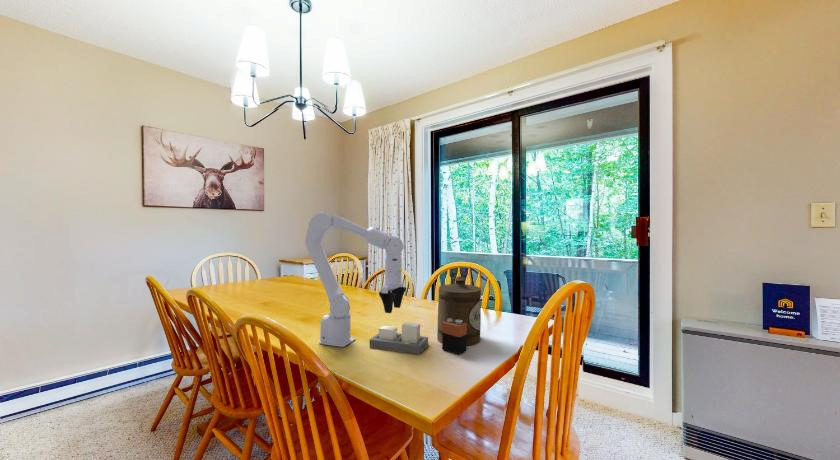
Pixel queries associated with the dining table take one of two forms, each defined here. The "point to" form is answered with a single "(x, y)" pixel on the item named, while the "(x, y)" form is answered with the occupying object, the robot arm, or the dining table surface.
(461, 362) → the dining table surface
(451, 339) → the battery
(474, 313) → the wooden container
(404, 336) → the plug
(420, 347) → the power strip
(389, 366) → the dining table surface
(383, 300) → the robot arm
